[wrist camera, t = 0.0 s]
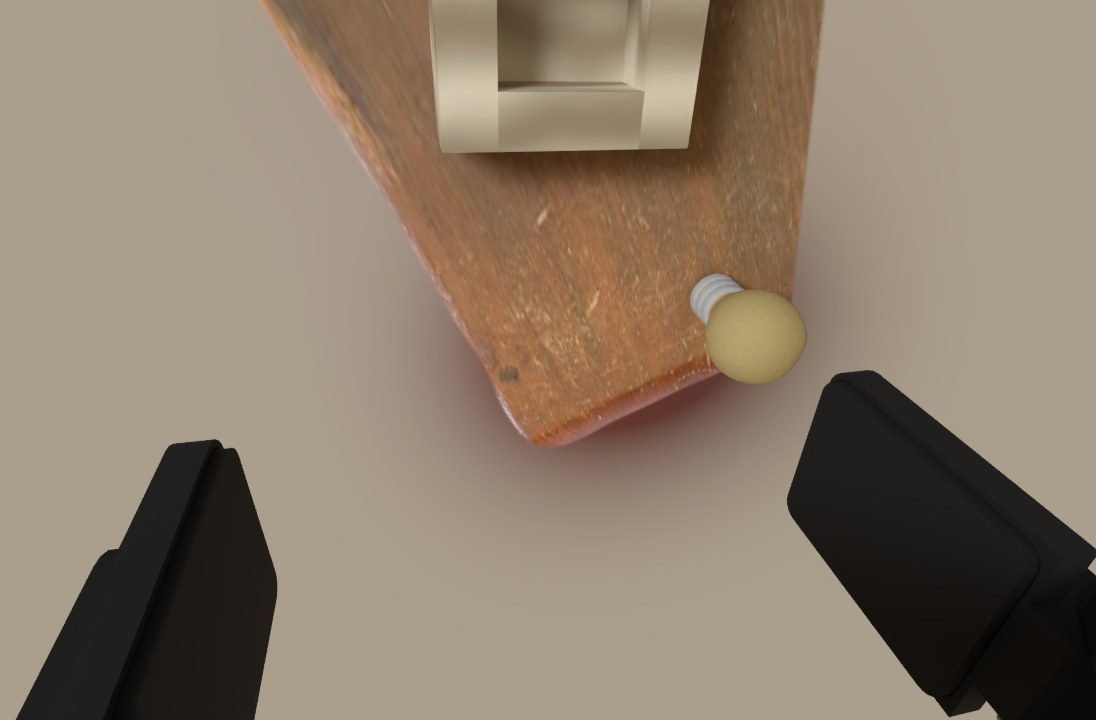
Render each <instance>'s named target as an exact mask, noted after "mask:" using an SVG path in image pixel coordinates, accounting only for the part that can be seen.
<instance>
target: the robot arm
mask: <svg viewBox="0 0 1096 720" xmlns="http://www.w3.org/2000/svg"><path fill="white" fill-rule="evenodd" d="M787 505H788V509H789V512H790V515H791V516H792V518H793V519H794V520H795V522H796V523H797V525H798V526H799V527H800V529H801V530H802V531H803V532H804V534H805V535H806V537H807V538H808V539H809V541H810V542H811V543H812V545H813V546H814V547H815V549H816V550H817V551H818V553H819V554H820V555H821V557H822V558H823V559H824V561H825V562H826V563H827V565H828V566H829V567H830V569H831V570H832V571H833V573H834V574H835V575H836V577H837V578H838V579H839V581H840V582H841V584H842V585H843V586H844V587H845V589H846V590H847V592H848V593H849V594H850V595H851V597H852V598H853V600H854V601H855V602H856V603H857V605H858V606H859V608H860V609H861V610H862V612H863V613H864V614H865V616H866V617H867V618H868V620H869V621H870V622H871V624H872V625H873V626H874V628H875V629H876V630H877V632H878V633H879V634H880V636H881V637H882V638H883V640H884V641H885V642H886V644H887V645H888V646H889V648H890V649H891V650H892V652H893V653H894V654H895V656H896V657H897V658H898V660H899V661H900V662H901V664H902V665H903V666H904V668H905V669H906V670H907V672H908V673H909V674H910V676H911V677H912V678H913V680H914V681H915V682H916V684H917V685H918V686H919V687H920V688H921V689H922V691H924V692H925V693H926V694H928V695H930V696H932V697H934V698H935V699H936V701H937V702H938V703H939V705H940V706H941V707H942V709H943V710H944V711H945V712H946V714H947V715H948V716H949V717H952V716H956V715H960V714H964V713H968V712H972V711H976V710H979V709H980V708H981V707H982V706H983V705H984V703H985V702H986V701H987V702H988V703H989V704H990V706H991V707H992V708H993V709H994V710H995V711H996V713H997V720H1096V575H1095V574H1093V573H1092V572H1091V571H1090V570H1089V569H1088V567H1089V565H1090V564H1091V563H1092V561H1093V560H1094V559H1095V558H1096V549H1095V548H1094V547H1093V546H1092V545H1090V544H1089V543H1088V542H1087V541H1085V540H1084V539H1083V538H1082V537H1081V536H1079V535H1078V534H1077V533H1076V532H1074V531H1073V530H1072V529H1070V528H1069V527H1068V526H1067V525H1066V524H1064V523H1063V522H1062V521H1061V520H1059V519H1058V518H1057V517H1056V516H1054V515H1053V514H1052V513H1051V512H1049V511H1048V510H1047V509H1046V508H1045V507H1043V506H1042V505H1041V504H1040V503H1038V502H1037V501H1036V500H1035V499H1033V498H1032V497H1031V496H1030V495H1028V494H1027V493H1026V492H1025V491H1023V490H1022V489H1021V488H1020V487H1018V486H1017V485H1016V484H1015V483H1014V482H1012V481H1011V480H1010V479H1008V478H1007V477H1006V476H1005V475H1004V474H1002V473H1001V472H1000V471H999V470H997V469H996V468H995V467H994V466H992V465H991V464H990V463H989V462H987V461H986V460H985V459H984V458H982V457H981V456H980V455H979V454H977V453H976V452H975V451H974V450H973V449H971V448H970V447H969V446H968V445H966V444H965V443H964V442H963V441H961V440H960V439H959V438H958V437H956V436H955V435H954V434H953V433H951V432H950V431H949V430H948V429H946V428H945V427H944V426H943V425H942V424H940V423H939V422H938V421H937V420H935V419H934V418H933V417H932V416H930V415H929V414H928V413H927V412H925V411H924V410H923V409H922V408H920V407H919V406H918V405H917V404H915V403H914V402H913V401H912V400H911V399H909V398H908V397H907V396H906V395H904V394H903V393H901V391H899V390H898V389H897V388H896V387H894V386H893V385H892V384H891V383H889V382H888V381H887V380H886V379H884V378H883V377H882V376H881V375H879V374H878V373H876V372H874V371H869V370H865V371H857V372H847V373H840V374H837V375H835V376H834V377H833V378H832V379H831V382H830V383H829V384H827V385H826V386H825V387H824V389H823V391H822V394H821V397H820V400H819V403H818V406H817V409H816V412H815V415H814V418H813V421H812V424H811V427H810V430H809V433H808V436H807V439H806V442H805V445H804V448H803V451H802V454H801V457H800V460H799V463H798V466H797V469H796V472H795V475H794V478H793V481H792V484H791V487H790V490H789V493H788V497H787ZM276 599H277V577H276V572H275V569H274V566H273V562H272V559H271V556H270V553H269V550H268V547H267V544H266V540H265V537H264V534H263V531H262V528H261V525H260V522H259V518H258V515H257V512H256V509H255V506H254V503H253V499H252V496H251V493H250V490H249V487H248V483H247V480H246V477H245V474H244V471H243V468H242V464H241V462H240V458H239V455H238V453H237V451H236V450H235V449H234V448H228V449H224V448H223V446H222V444H221V443H220V442H219V441H218V440H216V439H214V440H205V441H196V442H186V443H176V444H172V445H170V446H169V447H168V448H167V450H166V451H165V453H164V455H163V457H162V459H161V462H160V464H159V466H158V468H157V470H156V472H155V474H154V476H153V479H152V480H151V482H150V485H149V487H148V489H147V491H146V493H145V495H144V497H143V499H142V501H141V503H140V505H139V508H138V510H137V512H136V514H135V516H134V518H133V520H132V522H131V524H130V526H129V528H128V531H127V533H126V535H125V537H124V539H123V541H122V543H121V545H120V547H119V549H114V550H108V551H107V552H105V553H104V554H103V555H102V556H101V557H100V558H99V559H98V561H97V563H96V564H95V565H94V567H93V569H92V571H91V573H90V575H89V577H88V579H87V580H86V582H85V584H84V586H83V588H82V590H81V593H80V594H79V596H78V598H77V600H76V602H75V604H74V606H73V608H72V610H71V612H70V614H69V616H68V618H67V620H66V622H65V624H64V626H63V628H62V630H61V632H60V634H59V636H58V638H57V640H56V642H55V644H54V646H53V648H52V650H51V652H50V653H49V655H48V658H47V659H46V661H45V663H44V665H43V667H42V669H41V671H40V673H39V675H38V677H37V679H36V681H35V683H34V685H33V687H32V689H31V691H30V693H29V695H28V697H27V699H26V701H25V703H24V705H23V707H22V709H21V711H20V713H19V714H18V716H17V718H16V720H254V717H255V713H256V707H257V702H258V696H259V691H260V686H261V680H262V675H263V669H264V664H265V658H266V653H267V647H268V642H269V636H270V631H271V626H272V621H273V615H274V610H275V604H276Z"/></svg>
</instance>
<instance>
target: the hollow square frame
mask: <svg viewBox="0 0 1096 720" xmlns="http://www.w3.org/2000/svg"><path fill="white" fill-rule="evenodd" d="M709 1H710V0H428V6H429V22H430V37H431V53H432V69H433V84H434V100H435V116H436V131H437V136H438V140H439V143H440V146H441V150H442V153H475V152H526V151H578V150H629V149H680V148H688V142H689V136H690V129H691V122H692V116H693V109H694V102H695V95H696V89H697V82H698V75H699V69H700V62H701V55H702V48H703V42H704V35H705V28H706V22H707V15H708V8H709Z"/></svg>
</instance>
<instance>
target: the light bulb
mask: <svg viewBox="0 0 1096 720" xmlns="http://www.w3.org/2000/svg"><path fill="white" fill-rule="evenodd" d="M690 305H691V308H692V311H693V312H694V313H695V314H696V315H697V316H698V318H699V319H700V320H701V321H702V322H703V323H704V324H705V325H706V332H705V342H706V347H707V351H708V354H709V356H710V358H711V360H712V361H713V363H714V364H715V366H716V367H717V368H718V369H719V370H720V371H722V372H723V373H724V374H725V375H727V376H729V377H731V378H732V379H735V380H738V381H740V382H744V383H749V384H765V383H770V382H773V381H775V380H777V379H778V378H780V377H782V376H783V375H784V374H786V373H787V372H788V371H789V370H790V369H791V368H792V367H793V366H794V365H795V363H796V362H797V361H798V359H799V358H800V356H801V354H802V352H803V350H804V348H805V345H806V340H807V333H806V328H805V324H804V321H803V319H802V317H801V315H800V313H799V312H798V310H797V309H796V308H795V307H794V306H793V305H792V303H791V302H790V301H789V300H787V299H786V298H784V297H783V296H781V295H779V294H777V293H775V292H772V291H768V290H763V289H747V290H744V289H743V288H741V287H740V286H739V285H738V284H737V283H736V282H734V280H732V279H731V278H730V277H729V276H727V275H724V274H712V275H709V276H707V277H705V278H703V279H702V280H700V281H699V282H698V283H697V284H696V286H695V287H694V289H693V291H692V293H691V296H690Z"/></svg>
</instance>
